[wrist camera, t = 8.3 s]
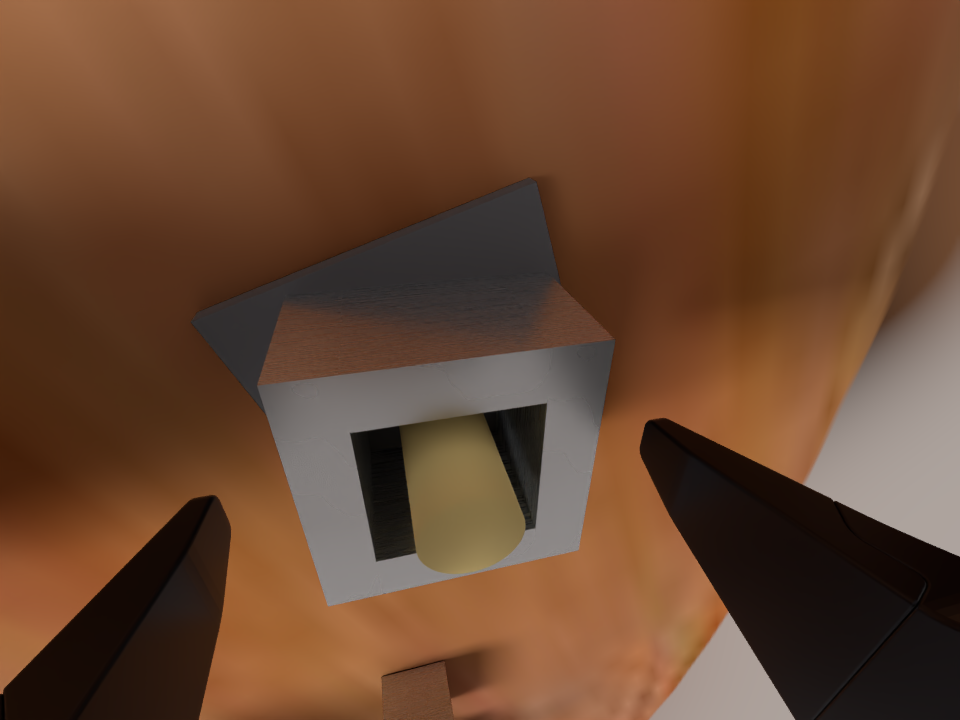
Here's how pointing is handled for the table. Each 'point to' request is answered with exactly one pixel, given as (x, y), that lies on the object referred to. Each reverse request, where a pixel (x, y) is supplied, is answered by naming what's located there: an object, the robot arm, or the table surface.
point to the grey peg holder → (433, 444)
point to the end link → (431, 412)
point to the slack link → (417, 694)
